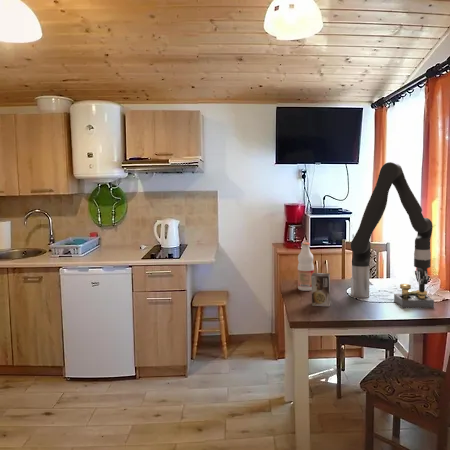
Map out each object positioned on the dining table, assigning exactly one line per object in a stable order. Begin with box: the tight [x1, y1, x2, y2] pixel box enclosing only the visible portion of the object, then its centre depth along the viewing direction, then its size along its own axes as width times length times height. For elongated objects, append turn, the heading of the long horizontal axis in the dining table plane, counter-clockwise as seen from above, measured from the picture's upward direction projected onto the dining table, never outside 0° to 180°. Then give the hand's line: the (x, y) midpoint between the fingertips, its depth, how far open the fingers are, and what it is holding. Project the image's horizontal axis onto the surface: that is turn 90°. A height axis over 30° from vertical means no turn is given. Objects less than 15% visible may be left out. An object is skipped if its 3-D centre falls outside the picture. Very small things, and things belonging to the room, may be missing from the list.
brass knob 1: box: [399, 283, 412, 298], centre depth 205 cm, size 5×5×7 cm
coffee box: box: [311, 272, 331, 307], centre depth 210 cm, size 9×6×16 cm
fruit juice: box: [297, 241, 315, 292], centre depth 240 cm, size 9×9×28 cm
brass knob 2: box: [415, 289, 428, 298], centre depth 205 cm, size 5×5×7 cm
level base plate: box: [393, 290, 435, 309], centre depth 206 cm, size 15×12×6 cm
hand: (421, 291), depth 205 cm, fingers closed
